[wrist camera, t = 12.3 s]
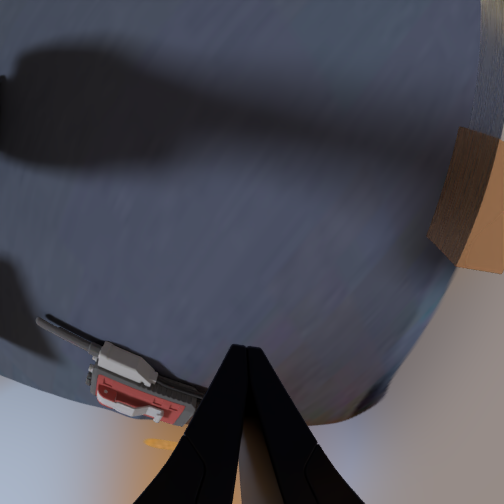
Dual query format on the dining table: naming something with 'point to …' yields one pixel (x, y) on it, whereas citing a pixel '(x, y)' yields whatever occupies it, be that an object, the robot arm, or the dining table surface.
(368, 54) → the dining table surface
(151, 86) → the dining table surface
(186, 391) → the walkie-talkie
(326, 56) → the dining table surface
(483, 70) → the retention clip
